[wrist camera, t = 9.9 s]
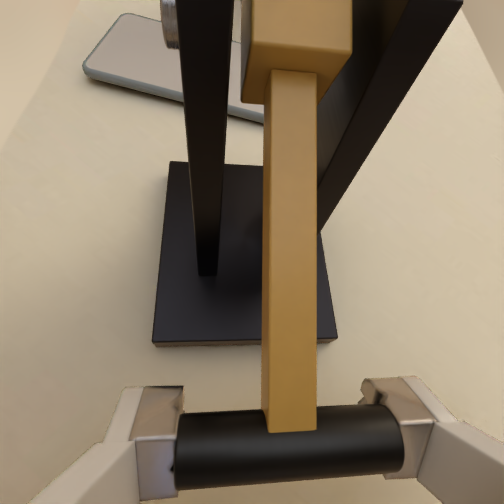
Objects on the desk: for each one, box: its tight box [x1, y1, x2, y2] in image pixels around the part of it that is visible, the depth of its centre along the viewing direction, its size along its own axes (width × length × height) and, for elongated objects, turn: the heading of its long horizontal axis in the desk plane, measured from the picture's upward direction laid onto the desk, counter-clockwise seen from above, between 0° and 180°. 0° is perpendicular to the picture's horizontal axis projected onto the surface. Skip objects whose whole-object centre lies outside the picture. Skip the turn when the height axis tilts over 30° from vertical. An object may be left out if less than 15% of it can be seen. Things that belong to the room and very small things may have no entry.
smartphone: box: [82, 13, 264, 123], centre depth 24 cm, size 8×1×15 cm
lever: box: [174, 0, 405, 491], centre depth 7 cm, size 12×5×2 cm, turn 3°
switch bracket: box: [152, 0, 463, 347], centre depth 12 cm, size 11×9×14 cm
